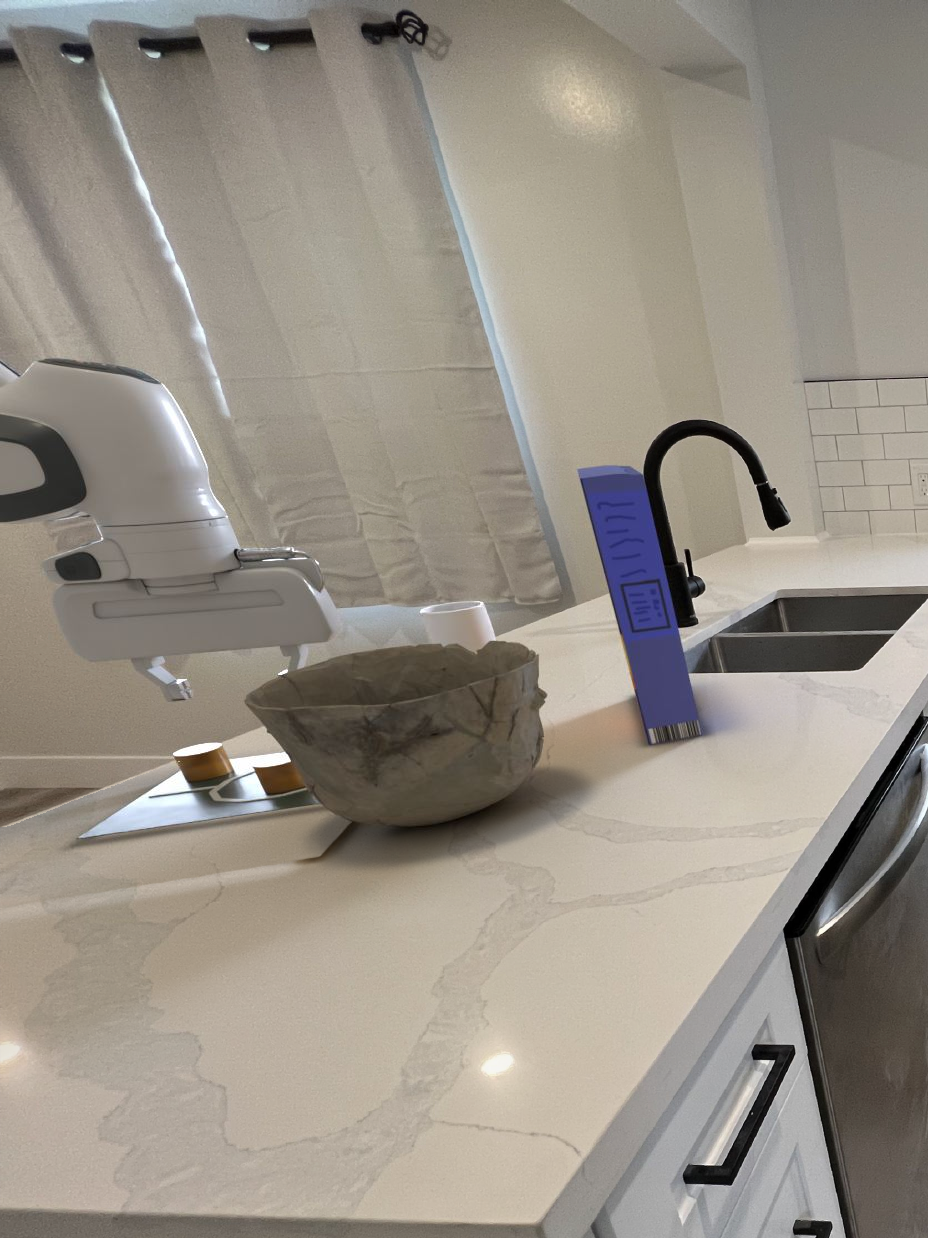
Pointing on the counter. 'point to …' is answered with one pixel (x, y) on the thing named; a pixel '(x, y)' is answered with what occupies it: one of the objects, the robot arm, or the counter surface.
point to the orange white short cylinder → (277, 774)
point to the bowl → (409, 729)
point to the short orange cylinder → (203, 762)
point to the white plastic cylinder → (459, 624)
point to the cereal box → (641, 600)
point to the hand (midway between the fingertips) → (240, 693)
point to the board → (202, 801)
